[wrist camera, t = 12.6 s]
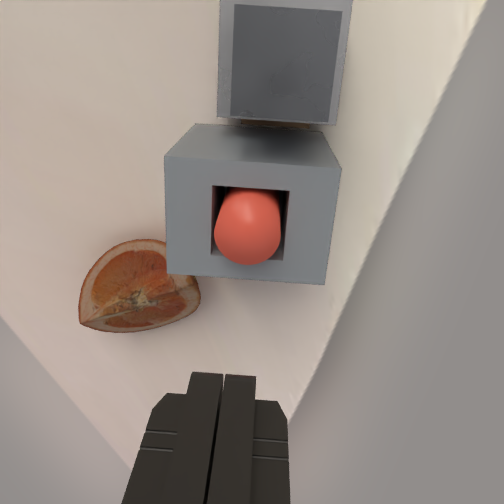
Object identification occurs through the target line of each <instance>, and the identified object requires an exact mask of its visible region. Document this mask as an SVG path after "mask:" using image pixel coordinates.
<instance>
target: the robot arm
mask: <svg viewBox="0 0 504 504" xmlns="http://www.w3.org/2000/svg"><path fill="white" fill-rule="evenodd" d="M255 390H256V376H245V375H232V374H226V375H225V381H224V388H223V374H217V373H204V372H192V374H191V377H190V381H189V385H188V389H187V394H174V393H166V395H165V396H164V397H163V398H162V399H161V400H160V401H159V402H158V403H157V405H156V406H155V407H154V408H153V409H152V412H151V415H150V418H149V421H148V424H147V427H146V432H145V433H144V436H143V439H142V442H141V445H140V450H139V451H138V454H137V458H136V461H135V464H134V467H133V470H132V473H131V476H130V479H129V482H128V485H127V488H126V492H125V495H124V497H123V500H122V503H121V504H290V481H289V462H288V459H289V455H288V429H287V418H286V416H285V415H284V413H283V411H282V409H281V407H280V405H279V403H278V402H277V401H267V400H255Z"/></svg>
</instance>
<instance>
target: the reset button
mask: <svg viewBox="0 0 504 504" xmlns="http://www.w3.org/2000/svg"><path fill="white" fill-rule="evenodd" d="M214 238H215V242H216V245H217V247H218V249H219V250H220V252H221V253H222V254H223V255H224V256H225V257H226V258H228V259H229V260H231V261H233V262H235V263H238V264H243V265H253V264H258V263H261V262H263V261H265V260H267V259H268V258H270V257H271V256H272V255H273V254H274V253H275V251H276V250H277V248H278V246H279V243H280V238H281V230H280V204H279V190H273V189H259V188H245V187H231V186H228V187H227V190H226V194H225V197H224V200H223V203H222V206H221V209H220V212H219V215H218V219H217V222H216V225H215V229H214Z"/></svg>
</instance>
